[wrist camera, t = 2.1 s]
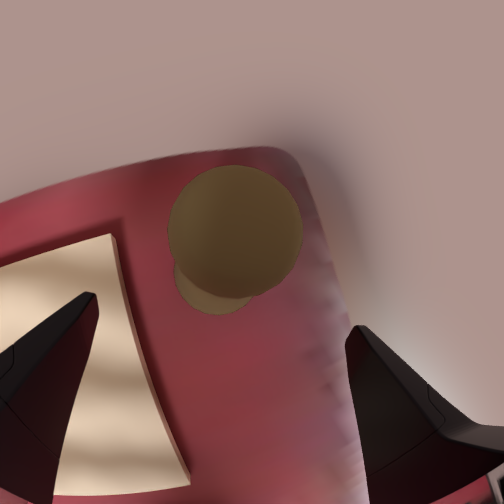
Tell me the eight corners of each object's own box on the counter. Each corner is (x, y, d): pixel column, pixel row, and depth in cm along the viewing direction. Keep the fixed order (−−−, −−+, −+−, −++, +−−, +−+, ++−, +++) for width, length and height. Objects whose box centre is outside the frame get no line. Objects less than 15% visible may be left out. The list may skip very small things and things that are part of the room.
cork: (242, 218, 22) (286, 127, 11) (273, 297, 21) (351, 270, 10) (162, 244, 20) (133, 164, 9) (191, 327, 19) (185, 335, 9)
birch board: (190, 474, 16) (190, 484, 15) (49, 486, 13) (42, 493, 12) (115, 239, 19) (110, 233, 18) (-16, 279, 16) (-26, 276, 15)
